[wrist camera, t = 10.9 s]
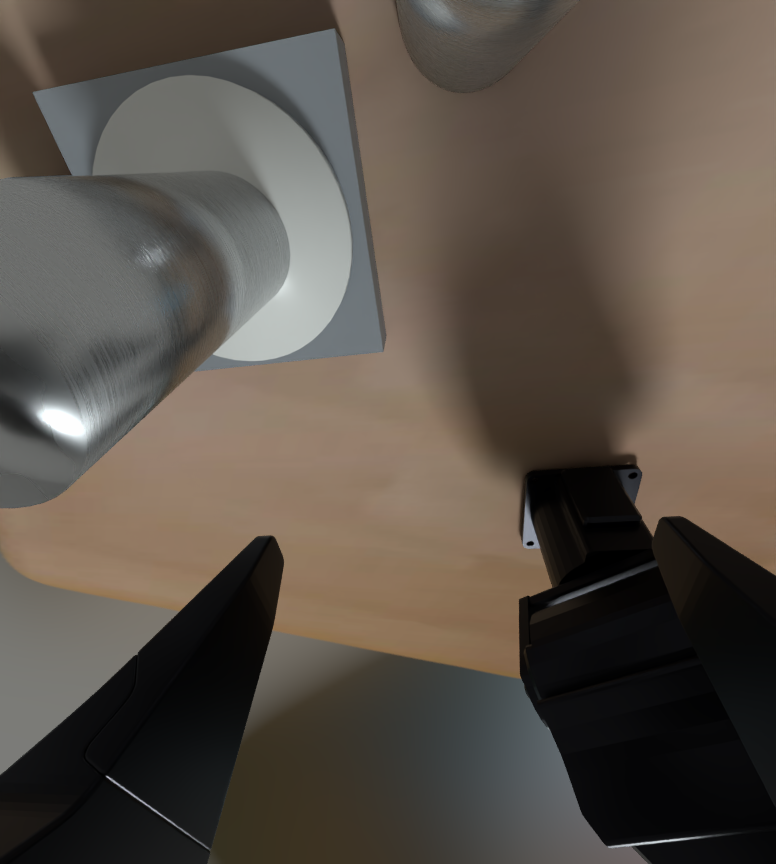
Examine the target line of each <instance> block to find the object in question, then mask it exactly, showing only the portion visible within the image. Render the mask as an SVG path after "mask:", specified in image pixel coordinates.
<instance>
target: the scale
mask: <svg viewBox="0 0 776 864" xmlns="http://www.w3.org/2000/svg"><path fill="white" fill-rule="evenodd" d="M32 93H33V95H34V97H35V99H36V101H37V103H38V105H39V107H40V109H41V112H42V114H43V116H44V118H45V120H46V122H47V124H48V126H49V128H50V130H51V132H52V135H53V137H54V139H55V141H56V143H57V145H58V147H59V149H60V151H61V153H62V156H63V158H64V160H65V162H66V164H67V166H68V168H69V170H70V172H71V174H72V175H63V176H35V177H10V178H5V179H15V178H40V177H64V176H89V175H114V174H138V173H163V172H187V171H222V172H227V173H230V174H233V175H236V176H238V177H240V178H242V179H244V180H246V181H248V182H249V183H251V184H252V185H253V186H255V187H256V188H257V189H258V190H260V191H261V192H262V193H263V194H264V195H265V196H266V197H267V199H268V200H269V201H270V202H271V203H272V205H273V206H274V208H275V209H276V210H277V212H278V214H279V216H280V218H281V219H282V222H283V224H284V226H285V229H286V232H287V236H288V240H289V245H290V266H289V271H288V275H287V278H286V280H285V282H284V284H283V286H282V288H281V289H280V291H279V292H278V293H277V294H276V295H275V296H274V297H273V298H272V299H271V300H270V301H269V302H268V303H267V304H266V305H265V306H264V307H263V308H262V309H261V310H259V311H258V312H257V313H256V314H255V315H254V316H253V317H252V318H251V319H250V320H249V321H248V322H247V323H245V324H244V325H243V326H242V327H241V328H240V329H239V330H238V331H237V332H236V333H235V334H234V335H233V336H231V337H230V338H229V339H228V340H227V341H226V342H225V343H224V344H223V345H222V346H221V347H220V348H219V349H217V350H216V351H215V352H214V353H213V354H212V355H211V356H210V357H209V358H208V359H207V360H206V361H205V362H203V363H202V364H201V365H200V366H199V367H198V368H197V369H196V370H195V371H204V370H213V369H223V368H232V367H242V366H252V365H261V364H271V363H280V362H290V361H300V360H309V359H319V358H328V357H338V356H348V355H357V354H367V353H377V352H384V346H385V341H386V330H385V323H384V316H383V309H382V302H381V295H380V288H379V281H378V275H377V268H376V261H375V254H374V247H373V240H372V233H371V226H370V219H369V212H368V205H367V198H366V191H365V184H364V177H363V170H362V163H361V156H360V149H359V142H358V135H357V128H356V121H355V114H354V107H353V100H352V93H351V86H350V79H349V72H348V65H347V58H346V51H345V44H344V42H343V41H342V39H341V37H340V36H339V34H338V33H337V31H336V29H335V28H333V29H328V30H324V31H319V32H314V33H310V34H305V35H300V36H295V37H291V38H286V39H281V40H277V41H272V42H267V43H262V44H258V45H253V46H248V47H243V48H239V49H234V50H229V51H225V52H220V53H215V54H210V55H206V56H201V57H196V58H191V59H187V60H182V61H177V62H173V63H168V64H163V65H158V66H154V67H149V68H144V69H139V70H135V71H130V72H125V73H121V74H116V75H111V76H106V77H102V78H97V79H92V80H87V81H83V82H78V83H73V84H69V85H64V86H59V87H54V88H50V89H45V90H40V91H35V92H32Z"/></svg>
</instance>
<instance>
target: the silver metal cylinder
mask: <svg viewBox="0 0 776 864" xmlns="http://www.w3.org/2000/svg"><path fill="white" fill-rule="evenodd" d="M289 266H290V245H289V240H288V236H287V232H286V229H285V226H284V224H283V222H282V219H281V218H280V216H279V214H278V212H277V210H276V209H275V208H274V206H273V205H272V203H271V202H270V201H269V200H268V199H267V197H266V196H265V195H264V194H263V193H262V192H261V191H260V190H258V189H257V188H256V187H255V186H253V185H252V184H251V183H249V182H248V181H246V180H244V179H242V178H240V177H238V176H236V175H233V174H230V173H227V172H222V171H187V172H163V173H138V174H114V175H89V176H64V177H40V178H15V179H0V508H20V507H28V506H33V505H37V504H41V503H44V502H47V501H49V500H51V499H53V498H55V497H57V496H58V495H60V494H61V493H63V492H64V491H65V490H67V489H68V488H69V487H70V486H71V485H72V484H73V483H74V482H75V481H76V480H77V479H79V478H80V477H81V476H82V475H83V474H84V473H85V472H86V471H87V470H88V469H89V468H90V467H91V466H93V465H94V464H95V463H96V462H97V461H98V460H99V459H100V458H101V457H102V456H103V455H104V454H105V453H107V452H108V451H109V450H110V449H111V448H112V447H113V446H114V445H115V444H116V443H117V442H118V441H119V440H121V439H122V438H123V437H124V436H125V435H126V434H127V433H128V432H129V431H130V430H131V429H132V428H133V427H135V426H136V425H137V424H138V423H139V422H140V421H141V420H142V419H143V418H144V417H145V416H146V415H147V414H149V413H150V412H151V411H152V410H153V409H154V408H155V407H156V406H157V405H158V404H159V403H160V402H161V401H163V400H164V399H165V398H166V397H167V396H168V395H169V394H170V393H171V392H172V391H173V390H174V389H175V388H177V387H178V386H179V385H180V384H181V383H182V382H183V381H184V380H185V379H186V378H187V377H188V376H189V375H191V374H192V373H193V372H194V371H195V370H196V369H197V368H198V367H199V366H200V365H201V364H202V363H203V362H205V361H206V360H207V359H208V358H209V357H210V356H211V355H212V354H213V353H214V352H215V351H216V350H217V349H219V348H220V347H221V346H222V345H223V344H224V343H225V342H226V341H227V340H228V339H229V338H230V337H231V336H233V335H234V334H235V333H236V332H237V331H238V330H239V329H240V328H241V327H242V326H243V325H244V324H245V323H247V322H248V321H249V320H250V319H251V318H252V317H253V316H254V315H255V314H256V313H257V312H258V311H259V310H261V309H262V308H263V307H264V306H265V305H266V304H267V303H268V302H269V301H270V300H271V299H272V298H273V297H274V296H275V295H276V294H277V293H278V292H279V291H280V289H281V288H282V286H283V284H284V282H285V280H286V278H287V275H288V271H289Z"/></svg>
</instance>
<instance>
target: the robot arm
mask: <svg viewBox="0 0 776 864" xmlns="http://www.w3.org/2000/svg"><path fill="white" fill-rule="evenodd" d="M633 472H634V473H633ZM630 473H633V474H630ZM629 474H630V475H629ZM534 478H538V479H536V480H532V479H534ZM641 478H642V472H641V470H640V469H639V467H638V466H636V465H619V466H603V467H587V468H571V469H555V470H539V471H531V472H529V473H528V474H527V475H526V477H525V491H524V507H523V523H522V538H521V540H522V544H523V546H524V547H525V548H528V549H534V548H540V549H541V552H542V556H543V559H544V562H545V565H546V568H547V572H548V575H549V578H550V581H551V584H552V587H553V588H551V589H548V590H546V591H543V592H541V593H538V594H536V595H533V596H531V597H530V596H526V597H523V598H521V599H519V647H520V676H521V679H522V681H523V683H524V687H525V691H526V694H527V696H528V697H529V698H530V700H531V702H532V703H533V706H534V708H535V710H536V712H537V713H538V715H539V717H540V718H541V720H542V721H543V723H544V724H545V725H546V727H547V728H548V729H549V730H550V731H551V733H552V735H553V738H554V740H555V742H556V744H557V747H558V749H559V751H560V753H561V756H562V759H563V761H564V764H565V767H566V769H567V772H568V775H569V778H570V781H571V783H572V787H573V790H574V792H575V795H576V798H577V801H578V804H579V807H580V810H581V812H582V814H583V816H584V818H585V819H586V820H587V822H588V823H589V824H590V826H591V827H592V828H593V830H594V831H595V832H596V834H597V835H598V836H599V837H600V839H601V840H602V842H603V843H604V844H605V845H606V846H607V847H609V848H620V847H628V846H632V847H633V849H634V850H635V851H636V852H637V853H638V854H639V855H640V856H641V857H642V858H643V859H644V860H645V861H646V862H647V863H648V864H776V576H775V575H774V574H772V573H771V572H769V571H768V570H766V569H764V568H763V567H761V566H760V565H758V564H757V563H755V562H754V561H752V560H750V559H749V558H747V557H746V556H744V555H743V554H741V553H739V552H738V551H736V550H735V549H733V548H732V547H730V546H728V545H727V544H725V543H724V542H722V541H721V540H719V539H717V538H716V537H714V536H713V535H711V534H710V533H708V532H706V531H705V530H703V529H702V528H700V527H699V526H697V525H696V524H694V523H692V522H691V521H689V520H688V519H686V518H684V517H681V516H671V517H662V518H661V519H660V520H659V522H658V525H657V528H656V531H655V534H654V537H653V536H652V534H651V533H650V531H649V529H648V528H647V526H646V525H645V523H644V521H643V520H642V516H641V514H640V513H639V511H638V510H637V508H636V506H635V505H634V504H635V500H636V496H637V493H638V489H639V485H640V481H641ZM528 541H530V542H528ZM283 567H284V559H283V555H282V553H281V550H280V548H279V546H278V543H277V541H276V539H275V537H274V536H271V535H270V536H258V537H256V538H255V539H254V540H253V541H252V542H251V543H250V544H249V545H248V546H247V547H245V548H244V549H243V550H242V551H241V552H240V553H239V554H238V555H237V556H236V557H235V558H234V559H233V560H232V561H231V562H230V563H229V564H228V565H227V566H226V567H225V568H224V569H223V570H222V571H221V572H220V573H219V574H218V575H217V576H216V577H215V578H214V579H213V580H212V581H211V582H210V583H209V584H207V585H206V586H205V587H204V588H203V589H202V590H201V591H200V592H199V593H198V594H197V595H196V596H195V597H194V598H193V599H192V600H191V601H190V602H189V603H188V604H187V605H186V606H185V607H184V608H183V609H182V610H181V611H180V612H179V613H178V614H177V615H176V616H175V617H174V618H173V619H172V620H171V621H169V622H168V623H167V625H165V626H164V627H163V628H162V629H161V630H160V631H159V632H158V633H157V634H156V635H155V636H154V637H153V638H152V639H151V640H150V641H149V642H148V643H147V644H146V645H145V646H144V647H143V648H142V649H141V650H140V651H139V652H138V655H135V656H133V657H132V659H131V660H129V661H128V662H127V663H126V664H125V665H124V666H123V667H122V668H121V669H120V670H119V671H118V672H117V673H116V674H115V675H114V676H113V677H112V678H111V679H110V680H108V681H107V682H106V683H105V684H104V685H103V686H102V687H101V688H100V689H99V690H98V691H97V692H96V693H95V694H94V695H92V696H91V697H90V698H89V699H88V700H87V701H85V702H84V703H83V704H82V705H81V706H80V707H79V708H78V709H76V710H75V711H74V712H73V713H72V714H71V715H70V716H68V717H67V718H66V719H65V720H64V721H63V722H62V723H61V724H59V725H58V726H57V727H56V728H55V729H53V730H52V731H51V732H50V733H49V734H48V735H46V736H45V737H44V738H43V739H42V740H41V741H39V742H38V743H37V744H36V745H35V746H34V747H33V748H31V749H30V750H29V751H28V752H27V753H26V754H25V755H23V756H22V757H21V758H20V759H18V760H17V761H16V762H15V763H14V764H13V765H12V766H10V767H9V768H8V769H7V770H6V771H5V772H3V773H2V774H1V775H0V864H207V863H208V859H209V855H210V851H209V850H211V848H212V844H213V840H214V837H215V833H216V829H217V826H218V822H219V819H220V815H221V812H222V808H223V805H224V801H225V797H226V794H227V790H228V787H229V783H230V780H231V776H232V772H233V769H234V765H235V762H236V758H237V755H238V751H239V747H240V744H241V740H242V737H243V733H244V730H245V726H246V722H247V719H248V715H249V712H250V708H251V704H252V701H253V697H254V694H255V690H256V686H257V683H258V680H259V675H260V672H261V669H262V665H263V662H264V658H265V654H266V651H267V647H268V644H269V640H270V636H271V633H272V629H273V625H274V620H275V615H276V609H277V603H278V597H279V591H280V585H281V579H282V573H283Z"/></svg>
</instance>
